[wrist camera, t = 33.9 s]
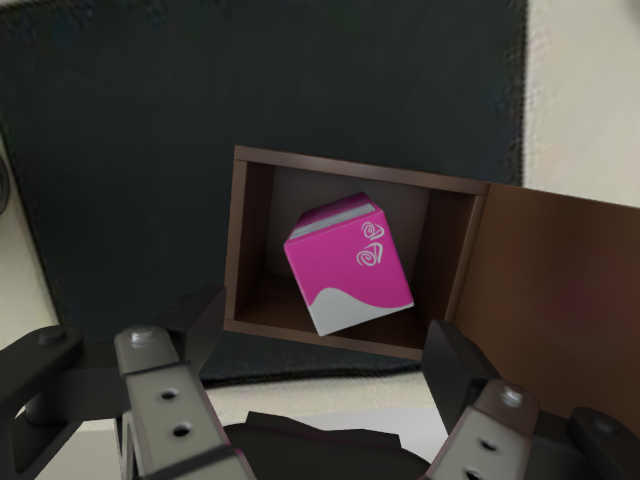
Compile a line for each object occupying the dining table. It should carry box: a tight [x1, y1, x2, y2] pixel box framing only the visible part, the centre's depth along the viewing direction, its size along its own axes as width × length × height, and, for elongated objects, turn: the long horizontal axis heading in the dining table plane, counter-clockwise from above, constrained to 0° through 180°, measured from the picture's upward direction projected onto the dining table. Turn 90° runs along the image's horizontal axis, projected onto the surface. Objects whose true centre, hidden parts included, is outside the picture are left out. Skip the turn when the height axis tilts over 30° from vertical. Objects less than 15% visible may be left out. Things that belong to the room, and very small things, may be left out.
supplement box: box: [284, 192, 414, 336], centre depth 24 cm, size 6×6×12 cm
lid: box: [454, 183, 640, 440], centre depth 12 cm, size 15×12×5 cm
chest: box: [223, 145, 493, 361], centre depth 25 cm, size 15×12×10 cm
